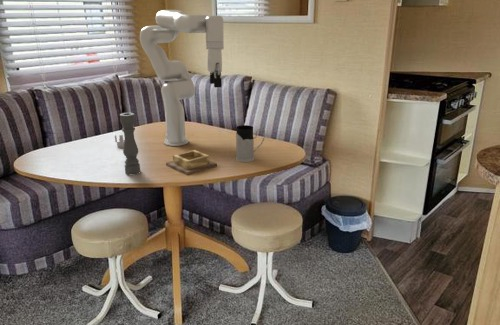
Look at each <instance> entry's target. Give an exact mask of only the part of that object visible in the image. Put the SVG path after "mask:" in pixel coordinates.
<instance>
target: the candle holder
mask: <svg viewBox="0 0 500 325" xmlns="http://www.w3.org/2000/svg"><path fill="white" fill-rule="evenodd" d="M119 119H120V124H121V126H122V128H121V131H122V133H123V134H124V135H123V138H124V140H125V141H123V142H124V147H122V148H123V149H122V151H123V152H122V154H123V155H124V156H125V158H126V159H125V161H124V171H125V174H126V175H128V174H135V175H138V174H140V173H141V165H140V163H139V162H140V161H139V159H138V158H137V157H138V155H139V148H138V145H137V143H136V142H137V141H136V139H135V133H134V132H135V131H136V127H134V126H135V122H136V121H135V120H136V119H135V113H134V112H122V113H120V114H119ZM139 172H140V173H139ZM137 173H138V174H137Z"/></svg>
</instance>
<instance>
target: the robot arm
mask: <svg viewBox="0 0 500 325" xmlns="http://www.w3.org/2000/svg"><path fill="white" fill-rule="evenodd" d="M155 22H156V24H157V25H156V24H155V25H146V26H144V27H143V28H141V30H140V32H139V42H140V45H141V47H142V49H143V51H144V52H145V55H146V56H147V58H148V59H149V60H150V64H151V66H152V68H153V69H154V70H153V71H154V73H155V74H156V76H157V79H158V80H160V81H162V82H166V83H163V84H162V85H161V86H162V87H161V90H160V91H161V96H162V100H163V106H164V107H163V108H164V114H165V115H164V116H165V131H166V133H164V136H165V137H166V139H164V141H163V144H164V145H166V146H168V147H169V146H171V147H180V146H186V145H187V144H189V141H190V140H189V139H188V138H187V137H186V125H185V123H186V122H185V109H184V106H183V104H182V102H181V101H180V100H186V99H189V98H193V96H194V95H195V92H196V89H195V88H196V87H195V85H194V82H193V79H192V78H191V76H190V75H191V74H190V72H189V71H188V68H187V67H186V64H184V63H183V62H182V61H180V60H170V59H169V58H168V56H167V54H166V51H165V50H164V49H163V48H162V47H161V46H160V45H158V44H167V43H168V44H169V43H172V42H173V41H175V39H177V37H178V35H179V34H180V33H187V34H205V42H206V43H205V47H206V49H205V50H207V71H208V72H209V83H210V85H211V84H212V85H213V88H222V71H223V57H222V56H223V55H222V50H224V47H225V46H224V45H225V44H224V40H225V39H224V18H223V16H222V15H212V14H211V15H209V14H187V13H186V12H185V11H182V10H180V9H161V10H159V11H158V12H157V13H156V15H155Z"/></svg>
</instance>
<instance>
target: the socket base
mask: <svg viewBox="0 0 500 325" xmlns="http://www.w3.org/2000/svg"><path fill="white" fill-rule="evenodd" d="M165 165H166V166H168V167H169V168H171V169H173V170H175V171H178V172H179V173H182V174H184V175H186V176H188V175H192V174H195V173H198V172H201V171H204V170H207V169H212V168H215V167H218V163H216V162H215V161H212V160H211V159H210V155H208V154H206V153H203V152H201V151H198V150H196V149H192V150H187V151H185V152H181V153H176V154H172V160H171V161H168V162H165Z"/></svg>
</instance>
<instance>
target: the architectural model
mask: <svg viewBox="0 0 500 325" xmlns="http://www.w3.org/2000/svg"><path fill="white" fill-rule="evenodd" d="M118 137H119V138H118V139H117V135H116V134H115V135H114V140H115V143H116V144H117V148H124V141H125V139H124V135H123V134H122V135H121V134H120V135H118Z"/></svg>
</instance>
